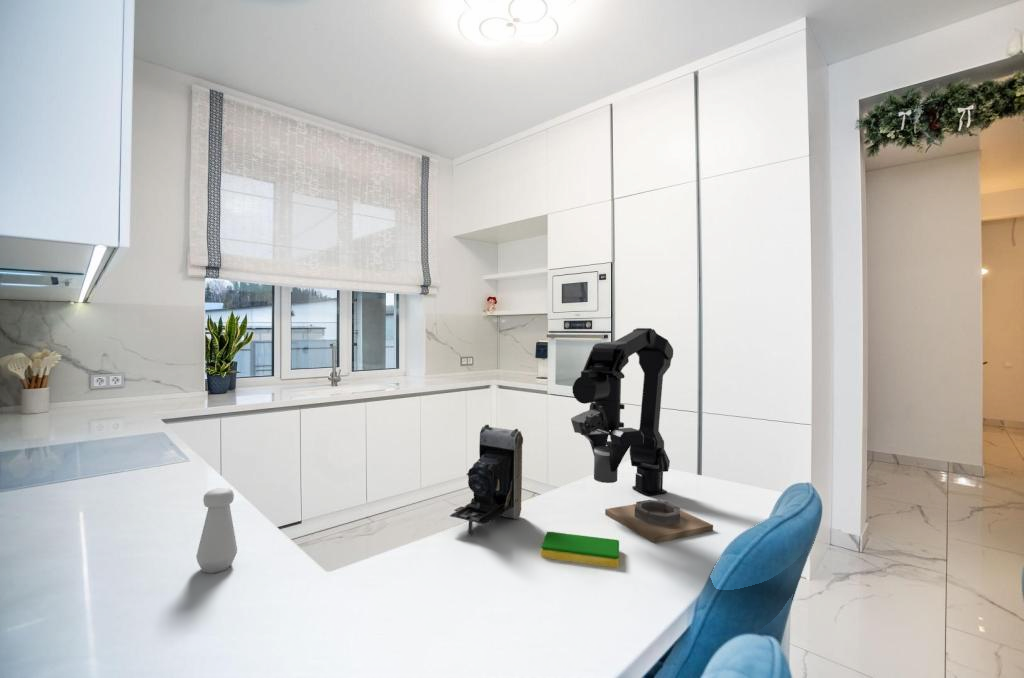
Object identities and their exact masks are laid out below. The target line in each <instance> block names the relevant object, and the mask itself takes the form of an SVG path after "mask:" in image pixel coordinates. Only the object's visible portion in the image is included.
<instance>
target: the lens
mask: <svg viewBox="0 0 1024 678" xmlns="http://www.w3.org/2000/svg"><path fill="white" fill-rule="evenodd" d="M593 457H594V458H593V460H594V461H593V480H594V481H596V482H599V483H604V484H611V483H612V484H613V483H616V482H618V468H619V467H618V468H617V470H616V471H615V472H612V471H611V467H610V449H609V447H608V446H607V445H606V446H596V447H595V448H594V454H593Z"/></svg>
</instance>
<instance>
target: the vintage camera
mask: <svg viewBox="0 0 1024 678" xmlns="http://www.w3.org/2000/svg"><path fill="white" fill-rule="evenodd" d="M523 444H524V437H523V434H522V431H520V430H519V429H518V428H515V429H507V428H502V427H492V426H490V425H489V424H485V425H484V426H482V427H481V429H480V432H479V445H478V446H479V447H478V448H479V451H478V452H479V453H478V454H479V455H478V456H479V459H478V460H477V461H476V462H474V463H473V464H472V467H470V468H469V469H468V472H467V473H466V475H467V478H468V480H467V482H468V483H467V484H468V487H469V489H470V490H471V491H472V493H473V498H471V501H470V503H468V504H466V505H465V506H460V507H456V508H455V509H454V512H453V513H451V514H450V515H449V517H452V518H456V519H461V520H464V521H468V529H467V530H468V531H467V535H468V536H472V535H473V524H474V523H475V524H476V523H477V524H479V525H480V524H481V525H483V526H485V525H486V524H488V523H490V522H491V521H493V520H495V519H496V518H498V517H500V516H501V517H504V518H505V517H506V518H508V519H509V518H510V519H513V520H515V519H516V520H517V519H519V518H520V516H521V513H522V493H523V492H522V490H523V489H522V486H523V484H522V483H523V479H522V478H523Z"/></svg>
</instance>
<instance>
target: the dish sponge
mask: <svg viewBox="0 0 1024 678" xmlns="http://www.w3.org/2000/svg"><path fill="white" fill-rule="evenodd" d="M540 550H541V551H540V556H541V558H543V559H552V560H559V561H566V562H567V561H568V562H572V563H574V562H575V563H581V564H589V565H595V566H604V567H610V568H619V567H620V566H619V565H620V540H618V539H613V538H605V537H604V538H603V537H596V536H588V535H580V534H572V533H564V532H557V531H556V532H555V531H546V533H545V534H544V538H543V541H542V544H541V547H540Z"/></svg>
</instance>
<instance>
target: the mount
mask: <svg viewBox="0 0 1024 678" xmlns="http://www.w3.org/2000/svg"><path fill="white" fill-rule="evenodd" d="M604 511H605V512H604V514H605V516H607V517H609V518H611V519H612V520H614V521H616V522H617V523H619V524H621V525H623V526H624V527H626V528H628V529H629V530H631V531H633V532H635V533H636V534H638V535H640V536H641V537H643V538H645V539H647V540H648V541H650V542H652V543H653V544H658V543H662V542H667V541H671V540H675V539H681V538H686V537H690V536H694V535H699V534H704V533H709V532H713V531H714V524H712V523H710V522H707V521H705V520H703V519H701V518H699V517H697V516H694V515H692V514H690V513H688V512H685V511H684V510H681V508H680V507H679V506H676V505H674V504H672V503H670V502H668V501H663V500H660V499H656V500H653V499H647V500H640V501H636V502H635V503H634V504H627V505H621V506H615V507H610V508H605V509H604Z"/></svg>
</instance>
